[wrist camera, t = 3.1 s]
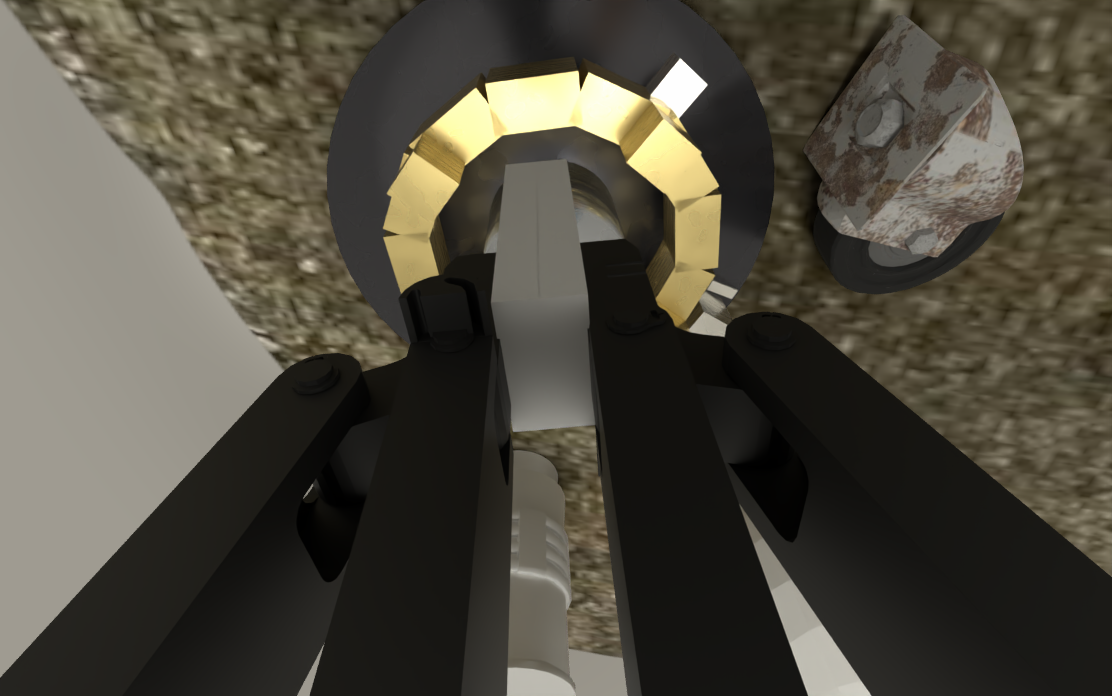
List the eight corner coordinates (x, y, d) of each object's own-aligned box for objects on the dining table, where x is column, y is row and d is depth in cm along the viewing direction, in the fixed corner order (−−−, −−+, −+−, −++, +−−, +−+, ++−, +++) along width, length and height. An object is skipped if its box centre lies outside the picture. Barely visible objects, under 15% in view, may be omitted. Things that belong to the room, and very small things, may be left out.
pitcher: (641, 553, 49) (720, 1006, 28) (751, 387, 38) (996, 905, 18) (836, 587, 52) (1027, 1007, 32) (982, 443, 42) (1397, 924, 22)
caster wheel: (878, 252, 36) (741, 218, 33) (1049, 75, 28) (890, 7, 25) (934, 334, 32) (783, 304, 28) (1154, 153, 24) (979, 83, 21)
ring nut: (359, 86, 25) (322, 120, 21) (708, 38, 25) (747, 63, 20) (440, 361, 34) (426, 427, 30) (700, 331, 34) (726, 393, 29)
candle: (579, 457, 42) (598, 677, 30) (546, 517, 45) (550, 734, 33) (485, 434, 40) (465, 657, 28) (459, 499, 44) (430, 719, 32)
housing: (262, -1, 25) (175, 24, 19) (787, -77, 24) (873, -77, 18) (402, 394, 38) (378, 484, 32) (748, 354, 37) (791, 439, 31)
